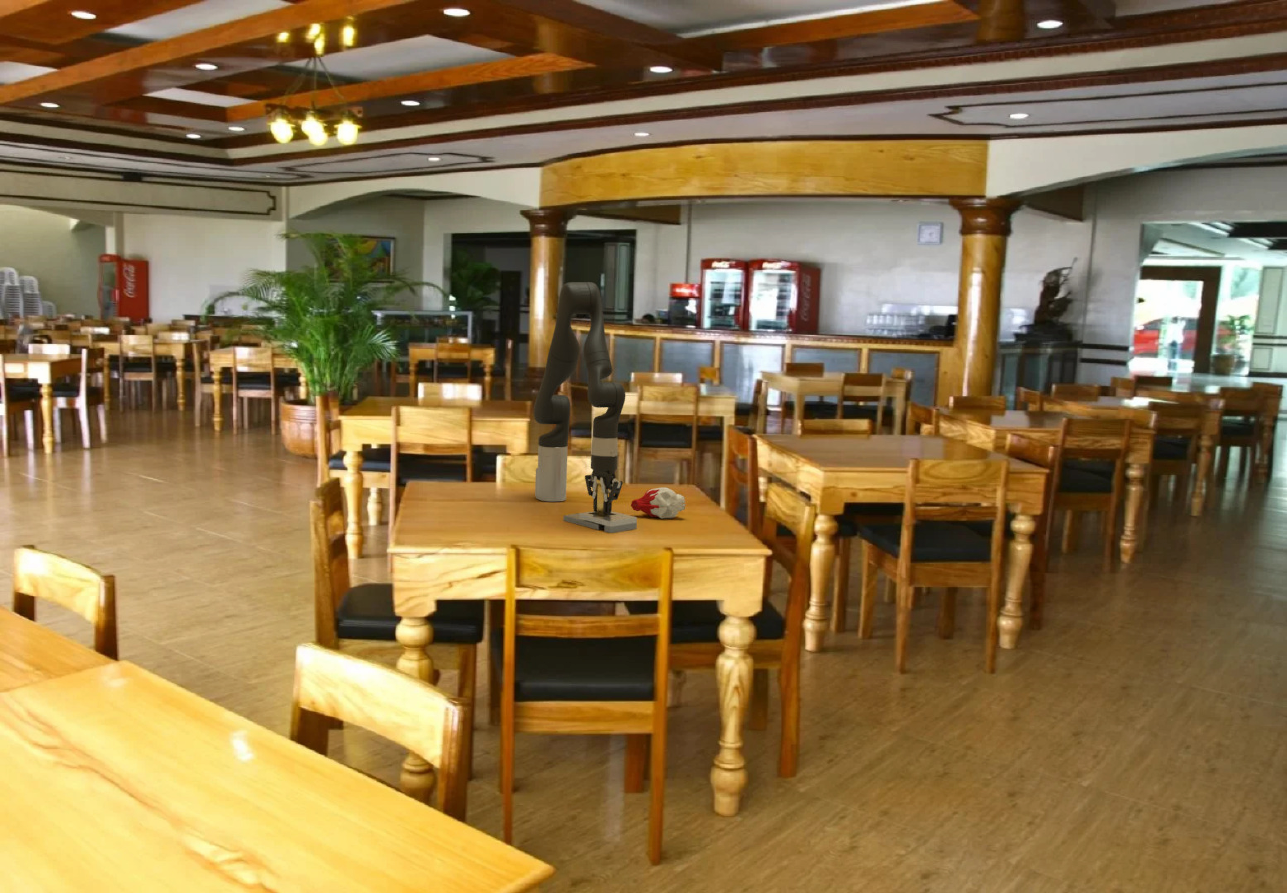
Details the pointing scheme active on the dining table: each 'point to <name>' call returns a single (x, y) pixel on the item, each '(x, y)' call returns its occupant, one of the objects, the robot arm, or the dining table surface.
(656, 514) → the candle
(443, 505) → the dining table surface
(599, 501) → the pin
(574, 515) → the grey slotted base plate
